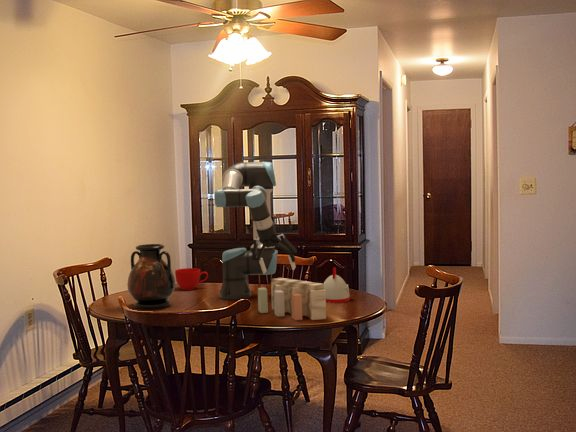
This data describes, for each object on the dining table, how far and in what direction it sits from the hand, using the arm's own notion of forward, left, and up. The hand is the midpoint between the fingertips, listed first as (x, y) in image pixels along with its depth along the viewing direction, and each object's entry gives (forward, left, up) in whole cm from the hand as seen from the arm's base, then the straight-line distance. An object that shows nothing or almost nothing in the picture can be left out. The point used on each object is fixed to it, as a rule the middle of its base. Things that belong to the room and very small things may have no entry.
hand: (279, 270), depth 292 cm
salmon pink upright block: (+16, +3, -18) cm, 24 cm away
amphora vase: (-34, -52, -18) cm, 65 cm away
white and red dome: (-16, +30, -18) cm, 39 cm away
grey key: (+7, -2, -18) cm, 19 cm away
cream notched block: (+7, +6, -18) cm, 20 cm away
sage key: (-2, -7, -18) cm, 19 cm away
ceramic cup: (-71, -29, -18) cm, 79 cm away
